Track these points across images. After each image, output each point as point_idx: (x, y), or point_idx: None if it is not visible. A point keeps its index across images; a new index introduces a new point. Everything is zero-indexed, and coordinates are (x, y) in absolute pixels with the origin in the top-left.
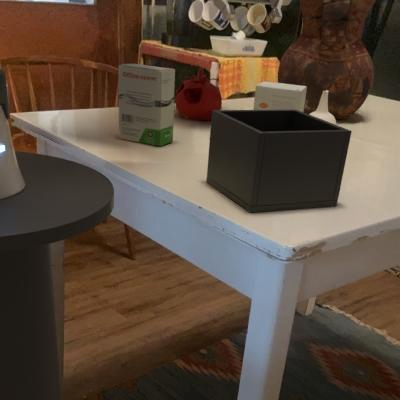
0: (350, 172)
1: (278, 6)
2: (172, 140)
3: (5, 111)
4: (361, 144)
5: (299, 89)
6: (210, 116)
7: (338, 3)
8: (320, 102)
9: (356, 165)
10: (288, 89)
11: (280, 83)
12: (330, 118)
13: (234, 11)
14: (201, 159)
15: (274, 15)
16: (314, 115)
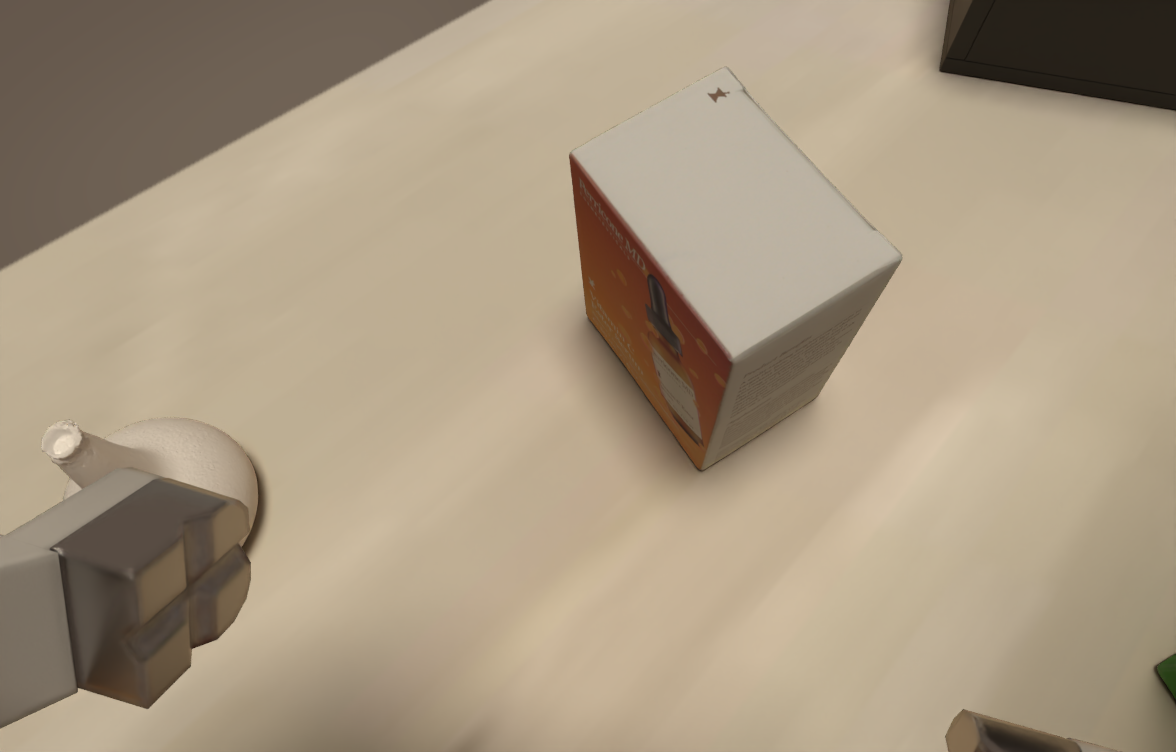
0: (655, 38)
1: (1, 556)
2: (1161, 663)
3: None
4: (216, 276)
5: (712, 88)
6: None
7: None
8: None
9: (554, 82)
10: (767, 119)
11: (689, 245)
12: (155, 425)
13: (993, 730)
14: (1146, 352)
15: (226, 521)
16: None
